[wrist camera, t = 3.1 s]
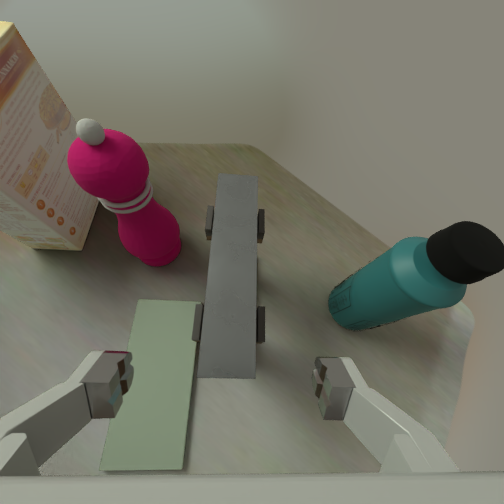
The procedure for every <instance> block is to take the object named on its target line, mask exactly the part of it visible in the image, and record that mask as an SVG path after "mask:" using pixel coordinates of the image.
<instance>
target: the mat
mask: <svg viewBox="0 0 504 504" xmlns="http://www.w3.org/2000/svg"><path fill="white" fill-rule="evenodd" d="M196 304H201V302H195V301H170V300H145V299H138V303H137V307H136V312H135V316H134V320H133V325H132V329H131V333H130V338H129V342H128V346H127V351H126V352H131V353H132V358H133V359H132V361H131V363H130V364H131V365H132V366H133V367H134V377H133V381H132V385H131V387H130V389H129V391H128V392H127V393H126V394H124V395H123V396H122V397H123V403H122V405H121V407H120V409H119V411H118V413H117V415H116V417H115V418H111V420H110V424H109V428H108V433H107V437H106V441H105V446H104V450H103V454H102V459H101V463H100V467H99V471H111V470H182V468H183V463H184V454H185V445H186V436H187V427H188V418H189V410H190V401H191V392H192V383H193V374H194V365H195V356H196V347H197V342H195V341H193V340H191V339H192V331H193V323H194V315H195V307H196Z"/></svg>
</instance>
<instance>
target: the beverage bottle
mask: <svg viewBox="0 0 504 504" xmlns="http://www.w3.org/2000/svg"><path fill="white" fill-rule="evenodd" d="M369 262H370V261H369ZM502 269H504V245H503V243H502V242H501V240H500V239H499V238H498V237H497V236H496V235H495V234H494V233H493V232H492V231H490V230H489V229H487V228H486V227H484V226H482V225H480V224H477V223H474V222H470V221H469V222H468V221H462V222H458V223H455V224H453V225H451V226H449V227H447V228H445V229H443V230H440V231H438V232H436V233H435V234H433V235H432V236H430V238H429V239H428V238H423V237H408V238H405V239H403V240H401V241H399V242H398V243H396V244H395V245H394V246H393V247H392V248H391V249H389V250H388V251H386V252H385V253H384V254H382V255H381V256H379V257H377V259H376V258H375V260H374V261H372V262H371V263H369V264H368V265H366V266H365V267H363V268H362V269H361V270H358V272H356V273H355V274H354V275H353V274H351V275H352V276H351V275H350V276H351V277H350V276H349V277H350V278H349V277H348V278H346V279H347V280H346V279H345V280H346V281H345V280H344V281H342V283H340V284H339V285H338V286H335V287H334V290H332V292H330V293H331V294H330V297H329V300H328V305H329V310H330V313H331V315H332V317H333V318H334V320H335V321H336V322H337V323H338V324H340V325H341V326H343V327H344V328H347V329H350V330H351V331H352V330H354V331H355V330H362V329H366V328H370V327H373V326H377V325H378V326H377V327H380V326H381V324H384V325H385V323H387V324H389V322H390V323H391V322H393V321H394V323H395V322H396V320H399V321H400V319H403V318H406V317H408V318H409V317H410V316H413V315H417V314H421V313H424V312H428V311H432V310H435V309H439V308H447V307H451V306H453V305H455V304H457V303H458V302H459V301H460V300H462V298H463V297H464V295H465V292H466V287H467V284H472V283H475V282H478V281H481V280H483V279H484V278H486V277H488V276H491V275H493V274H496V273H498V272H500V271H501V270H502ZM406 319H407V318H406ZM404 320H405V319H404ZM379 325H380V326H379ZM382 326H383V325H382ZM374 328H376V327H374ZM370 329H372V328H370Z"/></svg>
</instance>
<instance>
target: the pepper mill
mask: <svg viewBox="0 0 504 504" xmlns="http://www.w3.org/2000/svg"><path fill="white" fill-rule="evenodd" d="M76 132H77V135H78V138H76V139H75V140H74V141H73V143H72V144H71V146H70V148H69V150H68V155H67V163H68V167H69V170H70V173H71V175H72V176H73V178H74V180H75V181H76V183H77V184H78V185H79V186H80V187H81V188H82V189H83V190H84V191H86V192H87V193H89V194H91V195H93V196H95V197H97V199H98V200H99V201H100V202H101V203H102V205H103V206H104V207H105V208H106V209H108V210H110V211H112V212H115V214H116V215H117V218H118V233H119V237H120V240H121V242H122V244H123V246H124V247H125V248H126V250H127V251H128V252H129V253H131V254H132V255H134V256H136V257H139V259H140V260H141V261H142V262H144V263H145V264H147V265H150V266H163V265H167V264H169V263H170V262H172V261H173V260H174V259H175V258H176V257H177V256H178V254H179V252H180V249H181V241H180V238H179V234H180V230H179V225H178V223H177V221H176V219H175V217H174V216H173V215H172V214H171V213H170V212H169V211H168V210H167V209H166V208H164V207H163V206H161V205H159V204H158V203H157V202H156V201H155V200H154V199H153V197H152V195H153V186H152V184H151V182H150V179H149V177H148V175H149V165H148V161H147V158H146V156H145V154H144V152H143V150H142V149H141V147H140V146H139V145H138V144H137V143H136V142H135V141H134V140H133V139H132V138H131V137H129V136H127V135H125V134H123V133H122V132H119V131H115V130H111V129H103V128H102V126H101V125H100V124H99V123H98V122H96V121H95V120H92V119H86V118H85V119H82V120H80V121H78V123H77V125H76Z"/></svg>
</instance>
